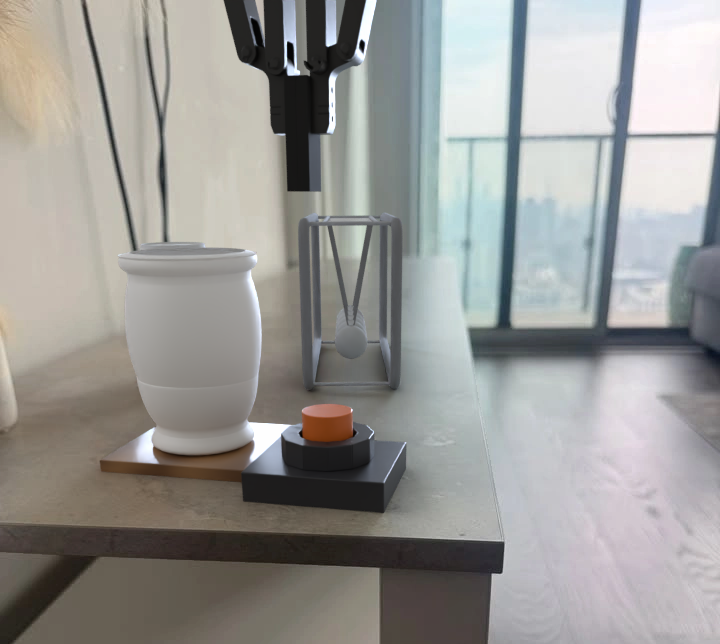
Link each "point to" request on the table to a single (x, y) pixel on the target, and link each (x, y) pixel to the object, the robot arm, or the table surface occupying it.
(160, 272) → the jar
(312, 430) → the button
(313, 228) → the newton's cradle
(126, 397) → the table surface
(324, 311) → the table surface
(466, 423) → the table surface
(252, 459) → the plate
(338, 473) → the switch block
